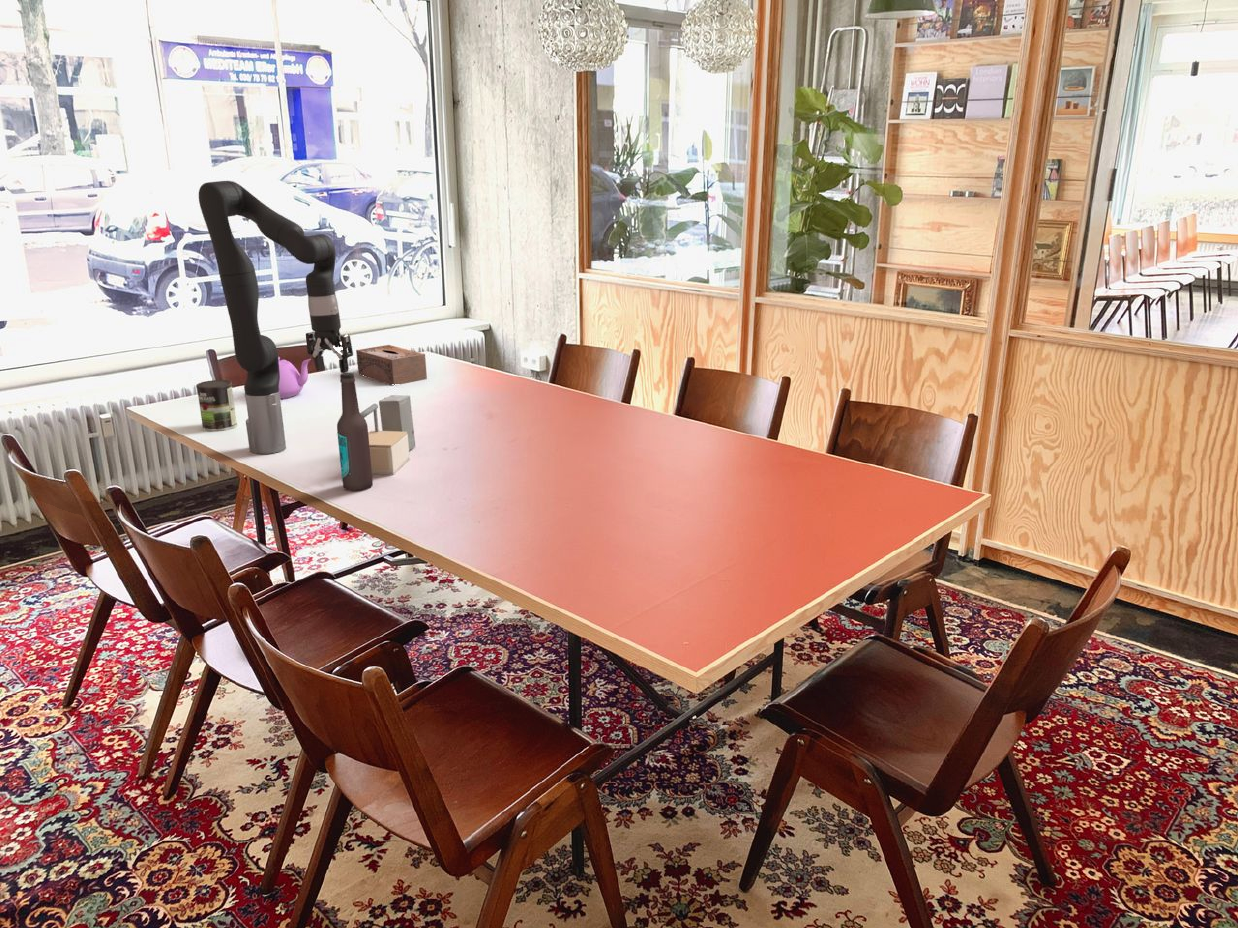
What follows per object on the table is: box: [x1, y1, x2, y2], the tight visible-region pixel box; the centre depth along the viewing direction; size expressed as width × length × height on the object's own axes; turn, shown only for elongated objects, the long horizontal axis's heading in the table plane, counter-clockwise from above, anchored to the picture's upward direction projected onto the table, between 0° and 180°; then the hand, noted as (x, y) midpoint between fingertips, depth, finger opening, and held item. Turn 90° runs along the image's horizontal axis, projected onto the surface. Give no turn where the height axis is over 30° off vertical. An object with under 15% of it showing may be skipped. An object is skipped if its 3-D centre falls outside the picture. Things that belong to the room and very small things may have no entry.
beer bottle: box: [336, 372, 374, 492], centre depth 236 cm, size 8×8×30 cm
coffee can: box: [195, 379, 238, 432], centre depth 292 cm, size 10×10×14 cm
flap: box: [360, 403, 407, 447], centre depth 253 cm, size 10×13×8 cm
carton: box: [369, 434, 411, 476], centre depth 255 cm, size 11×14×8 cm
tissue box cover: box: [355, 344, 428, 386], centre depth 358 cm, size 26×14×10 cm, turn 45°
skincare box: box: [378, 394, 416, 452], centre depth 268 cm, size 8×7×16 cm
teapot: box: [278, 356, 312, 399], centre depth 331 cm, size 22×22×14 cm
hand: (332, 371), depth 253 cm, fingers open, 8 cm apart
